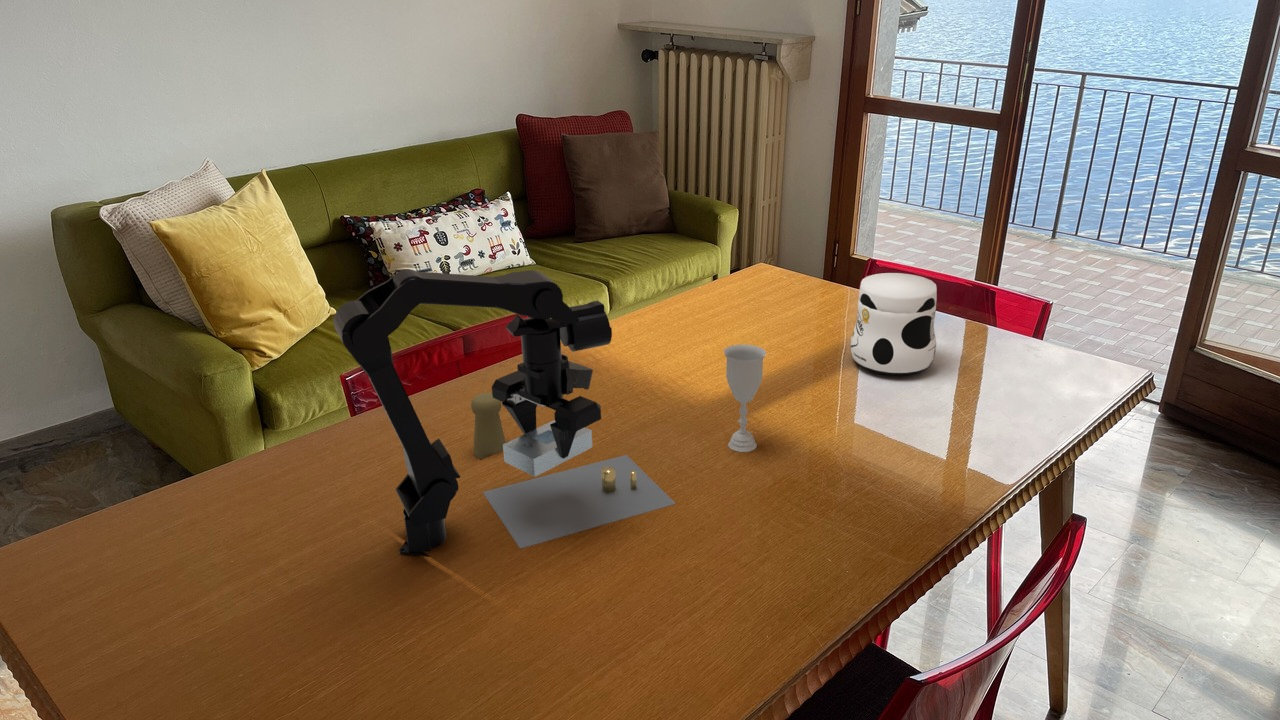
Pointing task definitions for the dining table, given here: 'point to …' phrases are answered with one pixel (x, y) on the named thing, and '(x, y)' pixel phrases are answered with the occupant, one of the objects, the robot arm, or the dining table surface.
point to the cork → (487, 426)
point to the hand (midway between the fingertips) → (548, 449)
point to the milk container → (895, 324)
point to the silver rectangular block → (542, 449)
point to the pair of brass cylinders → (609, 480)
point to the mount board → (573, 501)
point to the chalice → (743, 387)
